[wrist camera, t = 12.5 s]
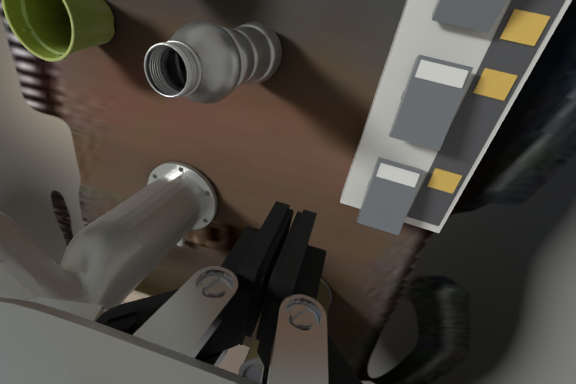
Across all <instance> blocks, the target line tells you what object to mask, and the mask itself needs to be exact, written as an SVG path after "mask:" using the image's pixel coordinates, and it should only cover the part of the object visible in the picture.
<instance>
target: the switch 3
mask: <svg viewBox="0 0 576 384" xmlns="http://www.w3.org/2000/svg"><path fill="white" fill-rule="evenodd" d="M506 1H507V0H438V1H437V4H436V6H435V8H434V11H433V13H432V20H433V21H437V22H442V23H446V24H451V25H455V26H460V27H464V28H469V29H473V30H478V31H482V32H487V33H488V32H489V31H490V29H491V27H492V25H493V24H494V22H495V20H496V18H497V17H498V15H499V13H500V12H501V10H502V8H503V6H504V5H505V3H506Z"/></svg>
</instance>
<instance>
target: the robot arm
mask: <svg viewBox="0 0 576 384" xmlns="http://www.w3.org/2000/svg"><path fill="white" fill-rule="evenodd" d="M217 206H218V203H217V197H216V194H215V191H214V189H213V187H212V185H211V184H210V182H209V181H208V179H207V178H206V177H205V176H204V175H203V174H202V173H201V172H199V171H198V170H197V169H195V168H194V167H192V166H190V165H187V164H185V163H181V162H167V163H164V164H162V165H160V166H158V167H157V168H155V169H154V170H153V171H152V173H151V174H150V177H149V179H148V186H146V187H145V188H143V189H142V190H140V191H139V192H137V193H136V194H134V195H133V196H131V197H130V198H128V199H127V200H125V201H124V202H122V203H121V204H119V205H118V206H116V207H115V208H113V209H112V210H110V211H109V212H107V213H106V214H104V215H103V216H101V217H100V218H98V219H97V220H95V221H94V222H92V223H90V224H89V225H87V226H86V227H85V228H83V229H82V230H80V231H79V232H78V233H77V234H76V235H75V236H74V237H73V239H72V240H71V242H70V243H69V245H68V247H67V249H66V251H65V253H64V256H63V259H62V262H61V266H59V265H58V264H57V263H55V262H54V261H53V260H52V259H51V258H50V257H49V256H48V255H47V254H46V253H45V252H44V251H43V250H42V249H41V248H40V247H39V246H38V245H37V244H36V243H35V242H34V241H33V240H32V239H31V238H30V237H29V236H28V235H27V234H26V233H25V232H24V231H23V230H22V229H21V228H20V227H19V226H18V225H17V224H16V223H15V222H14V221H12V220H11V219H10V218H9V217H7V216H6V215H4V214H3V213H1V212H0V384H363V383H362V382H361V381H360V379H359V378H358V376H357V375H356V374H355V372H354V371H353V370H352V368H351V367H350V365H349V364H348V363H347V361H346V360H345V358H344V357H343V356H342V354H341V353H340V351H339V350H338V349H337V347H336V346H335V344H334V343H333V342H332V340H331V339H330V337H329V336H328V335H327V317H326V312H325V310H324V308H323V307H322V305H321V304H320V303H319V302H318V301H316V299H317V294H318V290H319V285H320V280H321V275H322V270H323V266H324V261H325V256H326V251H325V250H322V249H319V248H316V247H313V246H309V245H308V242H309V238H310V235H311V232H312V228H313V225H314V221H315V218H316V215H317V213H313V212H310V211H307V210H303V213H301V212H297V214H296V216H295V219H294V221H293V223H292V226H291V228H290V224H291V220H292V216H293V211H294V210H291V209H289V207H290V205H287V204H284V203H281V202H277V201H276V203H275V204H274V206H273V208H272V210H271V211H270V213H269V215H268V217H267V218H266V220H265V222H264V224H263V225H262V227H261V229H260V230H259V229H256V228H253V227H249V226H248V227H246V229H245V230H244V232H243V233H242V235H241V236H240V238H239V239H238V241H237V242H236V244H235V245H234V247H233V249H232V250H231V252H230V253H229V255H228V256H227V258H226V259H225V261H224V262H223V264H222V265H221V267H217V266H212V267H206V268H204V269H201V270H199V271H198V272H197V273H195V274H194V275H193V276H192V277H191V278H190V279H189V280H188V281H187V282H186V283H185V284H184V285H183V286H182V287H181V288H180V289H177V290H173V291H169V292H166V293H162V294H158V295H154V296H151V297H147V298H143V299H139V300H136V301H132V302H128V303H125V304H121V303H122V302H123V301H124V300H125V299H126V297H127V296H128V295H129V294H130V293H131V292H132V291H133V290H134V289H135V288H136V286H137V285H138V284H139V283H140V282H141V281H142V280H143V279H144V278H145V277H146V276H147V275H148V274H149V273H150V272H151V271H152V270H153V268H154V267H155V266H156V265H157V264H158V263H159V262H160V261H161V260H162V259H163V258H164V257H165V256H166V255H167V254H168V253H169V252H170V251H171V250H172V249H173V248H174V246H175V245H176V244H177V245H178V246H183V245H184V244H185V236H186V235H187V234H188V233H189V232H190V231H191V230H197V229H201V228H204V227H205V226H207V225H208V224H209V223H210V222H211V221H212V220H213V218H214V217H215V215H216V212H217ZM289 228H290V231H289ZM288 232H289V233H288ZM120 304H121V305H120ZM261 312H262V314H261ZM260 314H261V318H260V322H259V326H258V331H257V335H256V340H259V345H258V349H257V353H258V355H259V357H260V359H261V361H262V363H263V365H264V367H263V371H262V376H261V382H260V383H258V382H256V381H253V380H250V379H248V378H245V377H242V376H240V375H237V374H235V373H232V372H229V371H227V370H224V369H221V368H219V367H218V366H219V365H220V363H221V362H222V360H223V359H224V357H225V355H226V353H227V349H229V348H232V347H234V346H237V345H238V344H240V345H242V344H243V341H244V339H245V336H248V337H252V334H253V332H254V329H255V327H256V324H257V322H258V319H259V317H260Z"/></svg>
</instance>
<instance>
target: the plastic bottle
mask: <svg viewBox="0 0 576 384" xmlns="http://www.w3.org/2000/svg"><path fill="white" fill-rule="evenodd" d="M281 59H282V47H281V43H280V40H279V38H278V36H277V35H276V33H275V32H274V31H273V30H272V29H271V28H269V27H267V26H266V25H264V24H262V23H259V22H249V23H246V24H243V25H241V26H239V27H237V28H233V29H230V28H224V27H221V26H219V25H216V24H213V23H209V22H203V21H196V22H191V23H189V24H186V25H185V26H183V27H182V28H180V29H179V30H178V31H177V32H176V33H175V34H174V35H173V36H172V38H171V40H170V41H167V42H161V43H157V44H155V45H153V46H152V47H150V48H149V50H148V51H147V53H146V55H145V59H144V71H145V75H146V78H147V80H148V82H149V84H150V86H151V87H152V88H153V89H154V90H155V91H156V92H157V93H158V94H160V95H162V96H164V97H168V98H176V97H179V96H185V97H186V98H188V99H189V100H192V101H194V102H199V103H205V104H210V103H216V102H219V101H221V100H222V99H224V98H226V97H227V96H229V95H230V94H231V93H232V92H233V91H234V90H235V89H236V88H238V87H239V86H241V85H243V84H246V83H250V84H252V83H261V82H264V81H266V80H268V79H269V78H270V77H271V76H273V74H274V73H275V72H276V70H277V69H278V67H279V65H280V62H281Z"/></svg>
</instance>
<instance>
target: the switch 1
mask: <svg viewBox="0 0 576 384" xmlns="http://www.w3.org/2000/svg"><path fill="white" fill-rule="evenodd" d="M423 172H424V171H423V170H421V169H419V168H415V167H412V166H408V165H405V164H401V163H398V162H394V161H391V160H387V159H384V158H380V157H378V159H377V162H376V165H375V168H374V171H373V174H372V176H371V179H370V182H369V185H368V188H367V191H366V194H365V197H364V199H363V202H362V205H361V208H360V211H359V214H358V217H357V223H360V224H364V225H367V226H370V227H373V228H376V229H379V230H382V231H386V232H389V233H392V234H395V235H399V233H400V230H401V228H402V225H403V223H404V220H405V218H406V215H407V213H408V210H409V208H410V205H411V203H412V200H413V198H414V195H415V192H416V190H417V187H418V185H419V182H420V180H421V177H422V175H423Z"/></svg>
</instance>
